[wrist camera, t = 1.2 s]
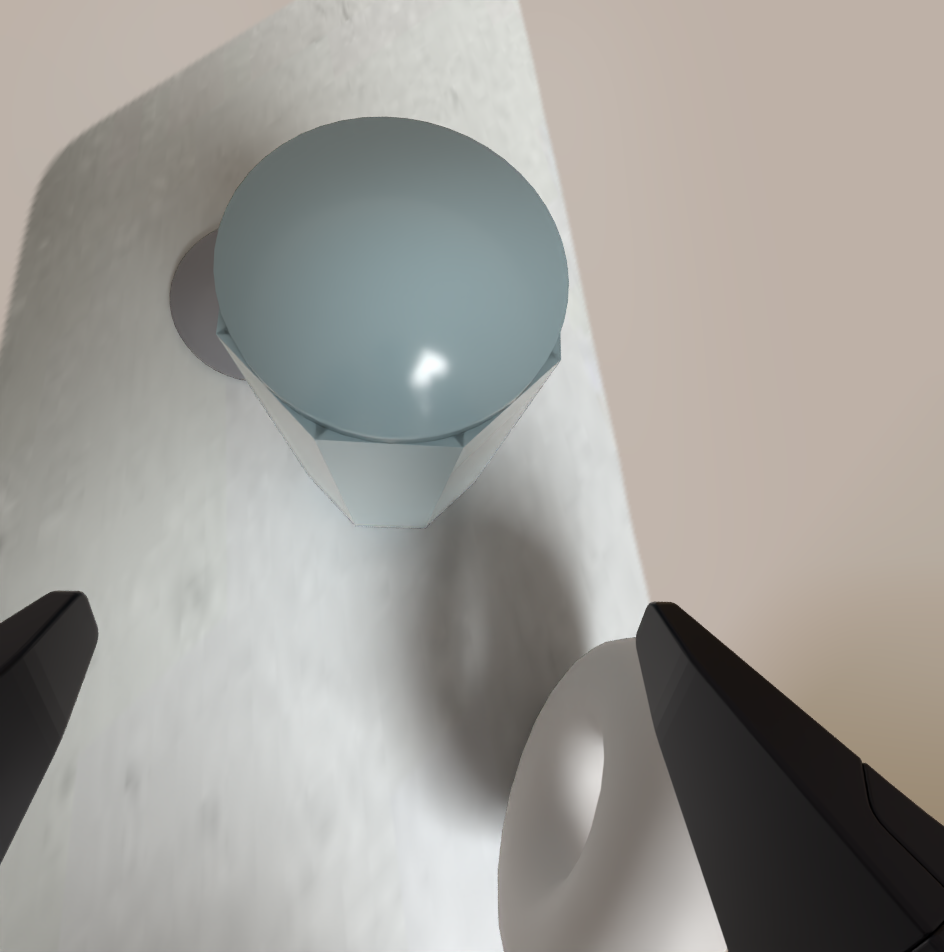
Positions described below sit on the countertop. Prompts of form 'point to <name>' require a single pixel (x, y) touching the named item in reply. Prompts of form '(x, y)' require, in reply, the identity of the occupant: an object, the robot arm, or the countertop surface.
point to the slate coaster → (200, 307)
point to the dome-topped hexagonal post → (390, 308)
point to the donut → (599, 826)
